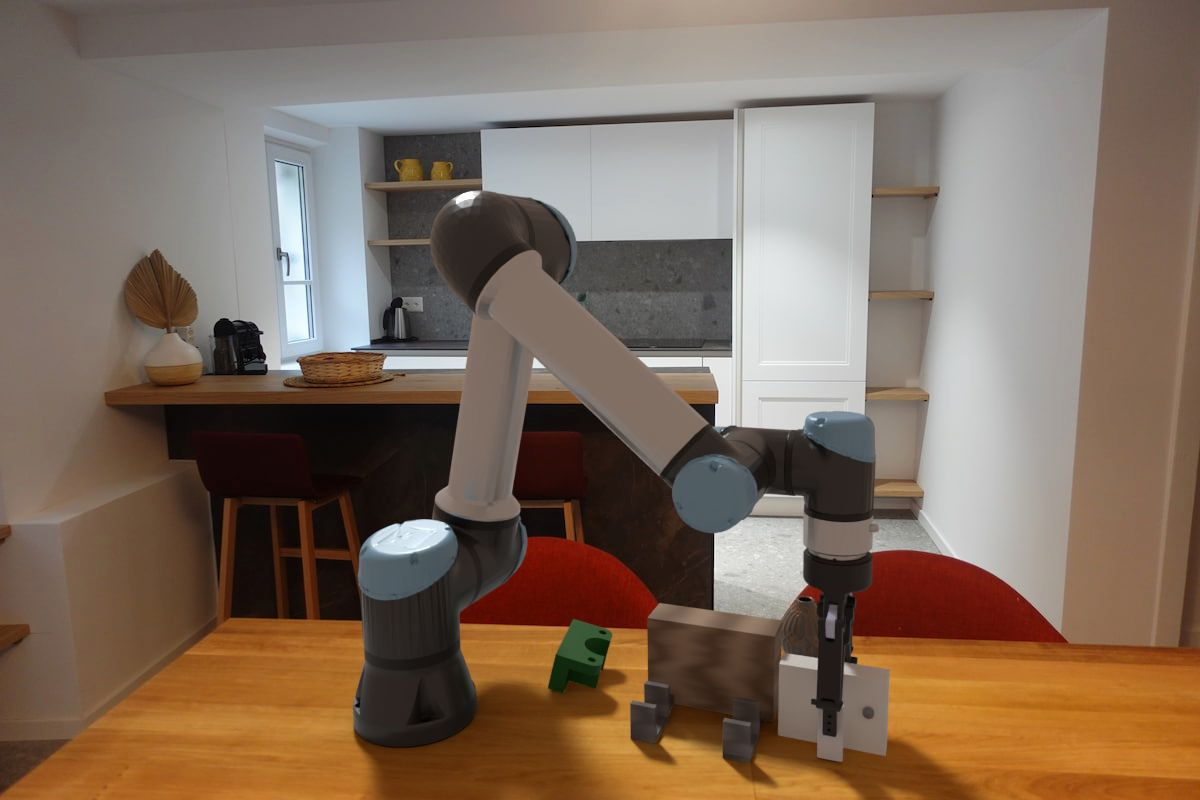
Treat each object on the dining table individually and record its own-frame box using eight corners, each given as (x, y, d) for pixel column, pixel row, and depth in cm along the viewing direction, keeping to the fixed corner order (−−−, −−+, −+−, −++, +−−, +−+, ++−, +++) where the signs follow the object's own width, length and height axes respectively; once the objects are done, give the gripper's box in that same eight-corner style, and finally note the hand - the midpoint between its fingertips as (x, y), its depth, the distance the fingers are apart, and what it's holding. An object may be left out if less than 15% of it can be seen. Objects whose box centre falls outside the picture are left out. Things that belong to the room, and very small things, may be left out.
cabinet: (622, 736, 96) (621, 648, 94) (660, 681, 109) (659, 603, 107) (758, 765, 90) (759, 671, 88) (780, 702, 103) (781, 620, 101)
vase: (770, 651, 117) (770, 593, 116) (812, 644, 119) (813, 587, 118) (795, 672, 110) (796, 611, 109) (839, 664, 112) (840, 604, 111)
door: (777, 737, 95) (778, 665, 94) (782, 722, 98) (783, 652, 97) (885, 759, 90) (888, 683, 89) (887, 742, 94) (889, 669, 92)
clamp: (587, 722, 107) (596, 679, 102) (544, 708, 108) (551, 665, 103) (608, 652, 117) (618, 609, 112) (569, 640, 118) (577, 597, 113)
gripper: (865, 586, 80) (860, 797, 83) (878, 525, 99) (874, 699, 103) (788, 577, 83) (786, 782, 86) (815, 520, 102) (813, 689, 105)
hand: (834, 736), depth 94 cm, fingers open, 8 cm apart
